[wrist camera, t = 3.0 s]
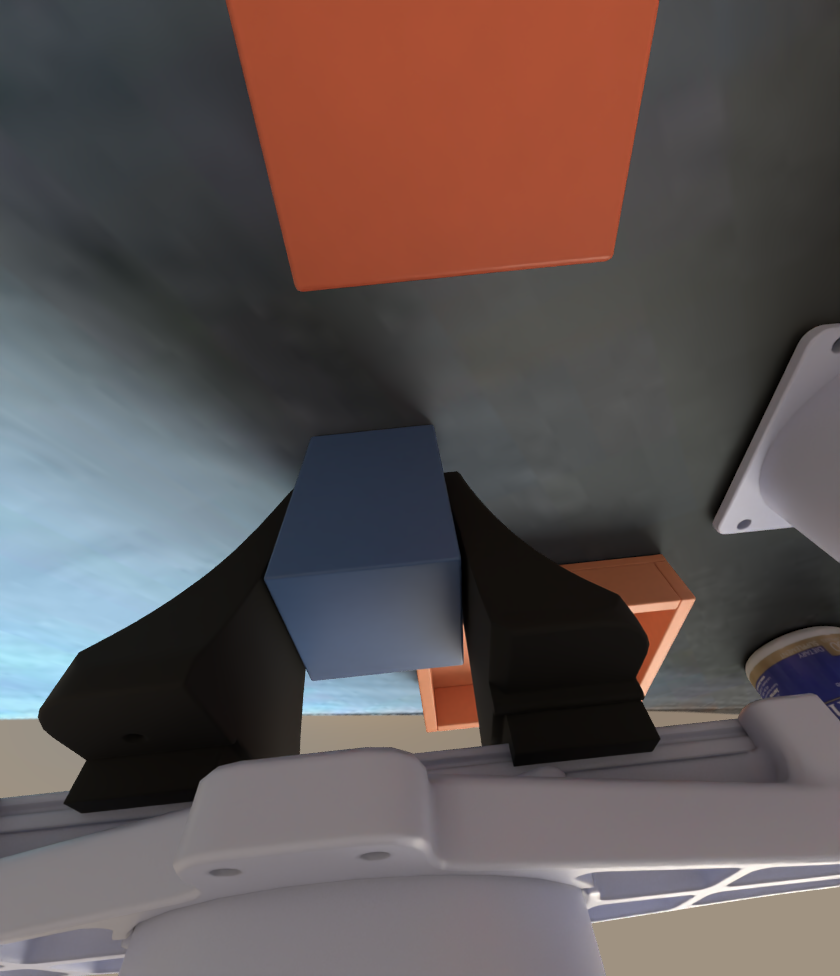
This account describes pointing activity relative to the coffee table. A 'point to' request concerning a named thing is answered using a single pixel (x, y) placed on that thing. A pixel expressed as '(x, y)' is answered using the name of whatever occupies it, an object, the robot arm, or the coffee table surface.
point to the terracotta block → (443, 131)
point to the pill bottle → (799, 666)
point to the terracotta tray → (635, 579)
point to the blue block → (370, 557)
